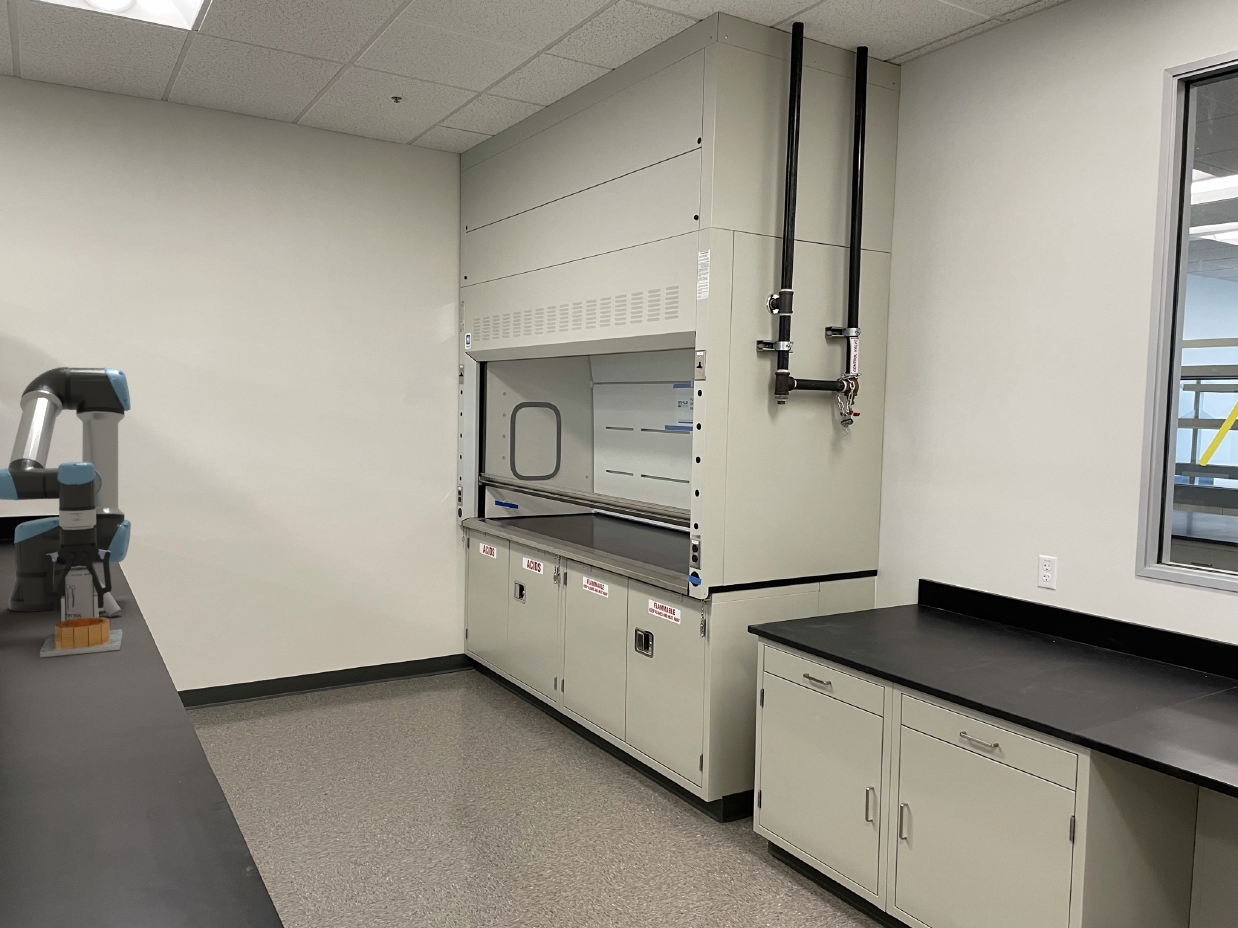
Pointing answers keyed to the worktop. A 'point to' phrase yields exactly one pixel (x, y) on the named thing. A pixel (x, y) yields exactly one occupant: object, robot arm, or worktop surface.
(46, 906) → the worktop surface
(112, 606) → the wall hook
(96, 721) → the worktop surface
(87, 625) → the keeper
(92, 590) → the energy drink can
